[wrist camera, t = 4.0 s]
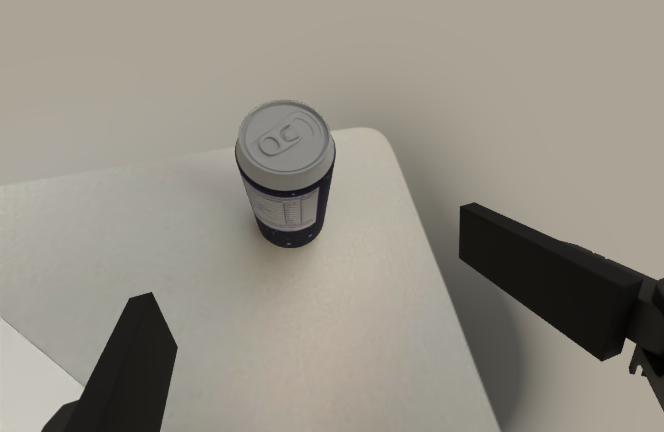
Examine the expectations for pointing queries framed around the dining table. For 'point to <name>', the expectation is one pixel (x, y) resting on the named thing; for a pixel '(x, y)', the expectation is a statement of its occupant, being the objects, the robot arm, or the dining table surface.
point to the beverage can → (286, 170)
